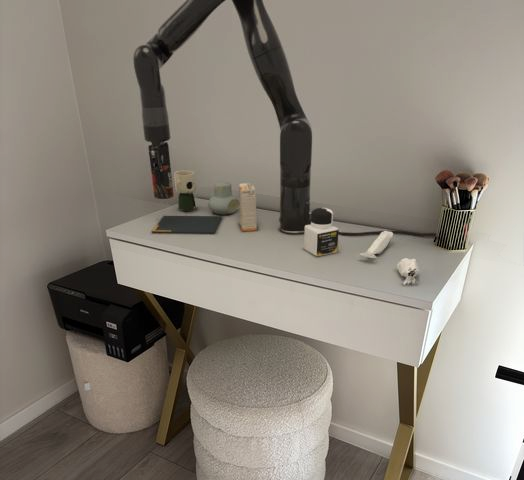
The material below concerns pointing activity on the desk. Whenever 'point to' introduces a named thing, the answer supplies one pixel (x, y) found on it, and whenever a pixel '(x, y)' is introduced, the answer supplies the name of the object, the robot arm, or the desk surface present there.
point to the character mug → (185, 189)
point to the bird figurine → (408, 269)
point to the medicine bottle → (321, 233)
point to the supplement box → (247, 206)
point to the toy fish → (378, 245)
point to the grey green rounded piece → (223, 199)
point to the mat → (188, 224)
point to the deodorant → (167, 187)
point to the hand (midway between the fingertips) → (162, 181)
